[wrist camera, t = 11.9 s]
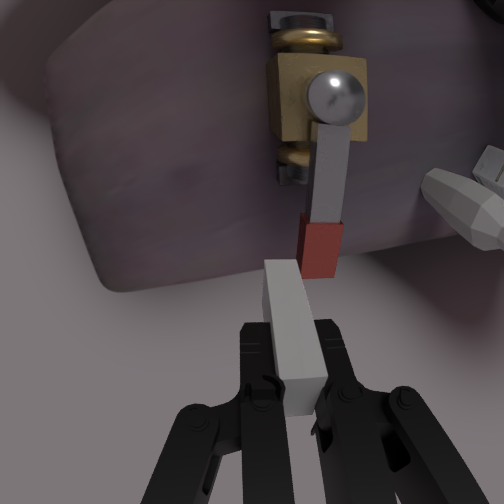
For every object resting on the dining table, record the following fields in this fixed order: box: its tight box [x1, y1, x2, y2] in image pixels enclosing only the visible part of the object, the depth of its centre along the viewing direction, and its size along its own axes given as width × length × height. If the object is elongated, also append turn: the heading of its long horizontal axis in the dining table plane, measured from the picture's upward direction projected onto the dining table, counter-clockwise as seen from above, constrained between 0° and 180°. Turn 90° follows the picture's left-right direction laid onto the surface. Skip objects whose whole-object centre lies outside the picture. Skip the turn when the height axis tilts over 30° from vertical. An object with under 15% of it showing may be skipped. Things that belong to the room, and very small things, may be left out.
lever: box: [296, 70, 366, 279], centre depth 21 cm, size 16×4×3 cm, turn 179°
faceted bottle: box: [420, 168, 504, 251], centre depth 22 cm, size 6×6×22 cm
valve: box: [266, 11, 367, 186], centre depth 22 cm, size 18×7×8 cm, turn 4°
